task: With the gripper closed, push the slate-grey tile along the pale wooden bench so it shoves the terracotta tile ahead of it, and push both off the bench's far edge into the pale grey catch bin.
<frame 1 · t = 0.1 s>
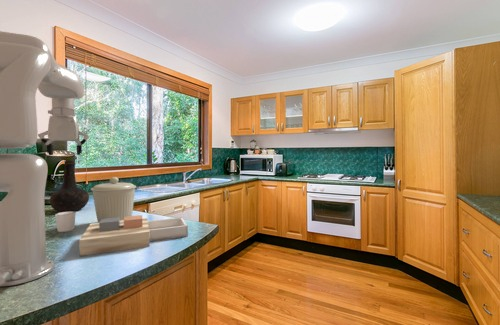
hand: (65, 154, 106), 31 cm above the countertop, tool pointing down, fingers open, 9 cm apart
slate tile: (110, 228, 90), point 5 cm above the countertop, touching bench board
shot glass: (66, 230, 105), on the countertop
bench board: (118, 241, 91), on the countertop
catch bin: (167, 233, 100), on the countertop
terracotta tile: (133, 225, 93), point 5 cm above the countertop, touching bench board
dark brown vase: (70, 210, 141), on the countertop
canister: (115, 223, 114), on the countertop
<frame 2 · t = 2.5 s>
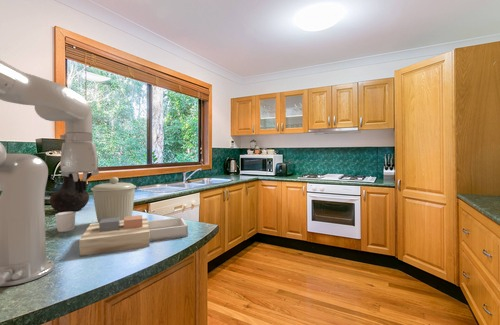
hand: (81, 192, 86), 18 cm above the countertop, tool pointing down, fingers closed
nothing on the countertop moved.
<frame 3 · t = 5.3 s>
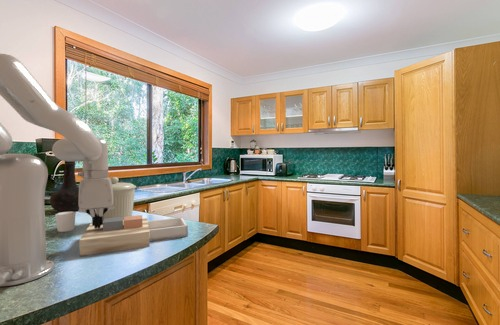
hand: (97, 227, 88), 6 cm above the countertop, tool pointing down, fingers closed
slate tile: (113, 227, 90), point 5 cm above the countertop, touching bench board, gripper
everything else where it was.
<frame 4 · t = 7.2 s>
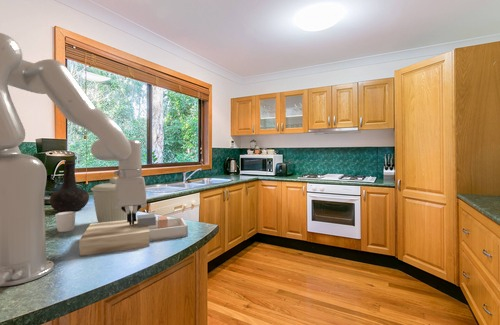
hand: (131, 223, 93), 6 cm above the countertop, tool pointing down, fingers closed
slate tile: (146, 224, 95), point 5 cm above the countertop
terracotta tile: (158, 225, 96), point 4 cm above the countertop, tilted 91°, touching catch bin
everything else where it was.
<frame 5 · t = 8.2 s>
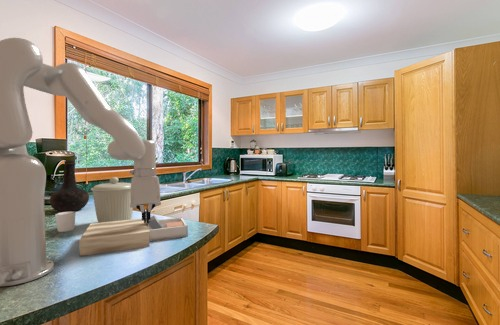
hand: (146, 221, 95), 6 cm above the countertop, tool pointing down, fingers closed
slate tile: (152, 227, 96), point 3 cm above the countertop, tilted 56°, touching catch bin, gripper
terracotta tile: (174, 224, 99), point 4 cm above the countertop, tilted 180°, touching catch bin
everything else where it was.
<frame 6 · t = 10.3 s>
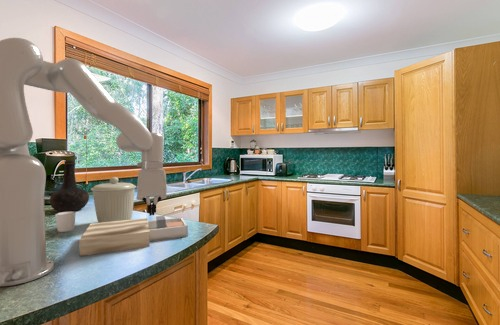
hand: (151, 214, 95), 9 cm above the countertop, tool pointing down, fingers closed
slate tile: (156, 226, 96), point 4 cm above the countertop, tilted 89°, touching catch bin
everything else where it was.
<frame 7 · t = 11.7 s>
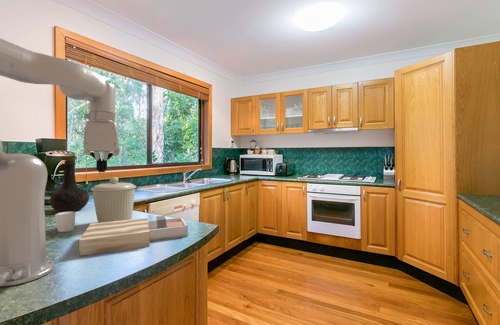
hand: (101, 172, 86), 25 cm above the countertop, tool pointing down, fingers closed
nothing on the countertop moved.
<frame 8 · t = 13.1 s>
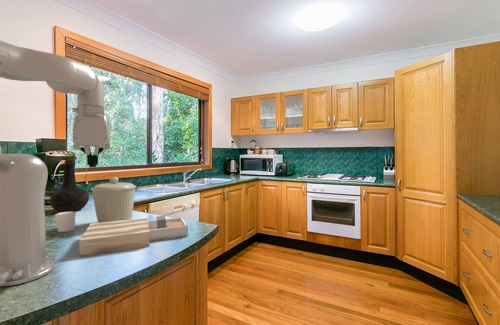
hand: (92, 166, 85), 27 cm above the countertop, tool pointing down, fingers closed
nothing on the countertop moved.
at the end: terracotta tile inside the target area (3.2 cm from its centre), point 3.8 cm above the countertop; slate tile inside the target area (4.3 cm from its centre), point 3.8 cm above the countertop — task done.
